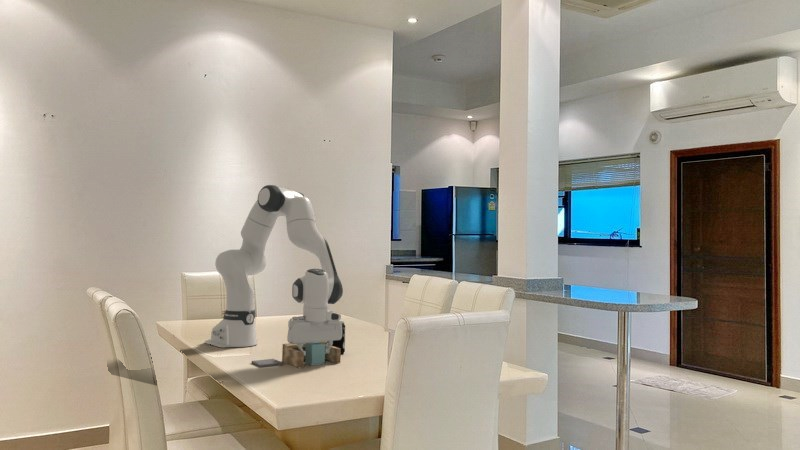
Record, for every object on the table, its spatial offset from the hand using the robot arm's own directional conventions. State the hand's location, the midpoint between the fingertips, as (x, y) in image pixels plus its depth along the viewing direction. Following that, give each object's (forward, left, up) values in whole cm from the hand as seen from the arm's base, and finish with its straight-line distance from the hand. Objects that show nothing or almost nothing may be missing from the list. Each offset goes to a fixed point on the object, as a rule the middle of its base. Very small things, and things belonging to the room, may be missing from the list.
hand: (314, 354), depth 206 cm
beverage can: (-6, +19, -3) cm, 20 cm away
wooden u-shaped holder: (-2, +1, -3) cm, 4 cm away
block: (0, 0, -3) cm, 3 cm away
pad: (-12, -11, -3) cm, 17 cm away
